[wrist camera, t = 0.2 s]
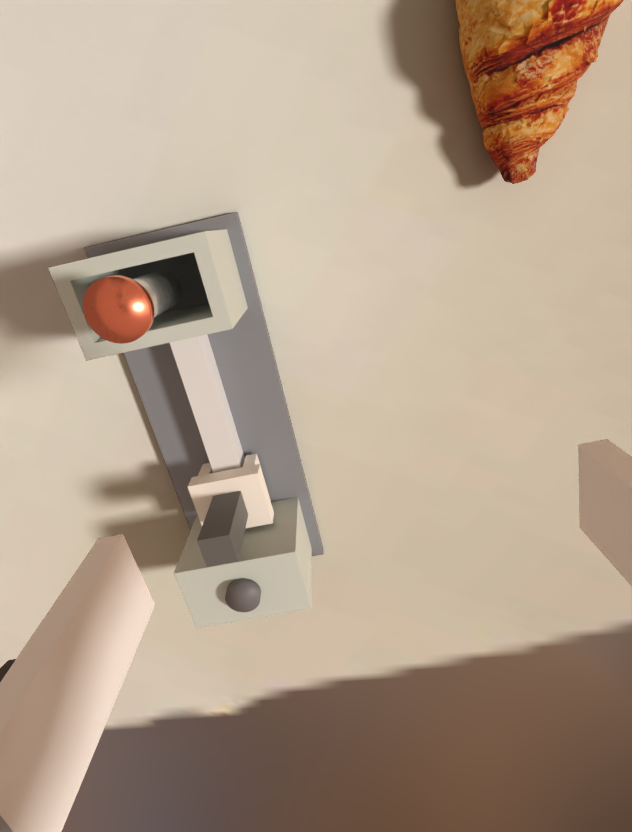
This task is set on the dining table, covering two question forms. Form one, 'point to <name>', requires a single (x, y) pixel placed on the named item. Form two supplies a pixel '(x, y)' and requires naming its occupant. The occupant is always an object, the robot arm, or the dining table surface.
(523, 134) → the croissant
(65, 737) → the robot arm
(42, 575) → the dining table surface
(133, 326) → the ball
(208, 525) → the block
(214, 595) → the rail fixture
